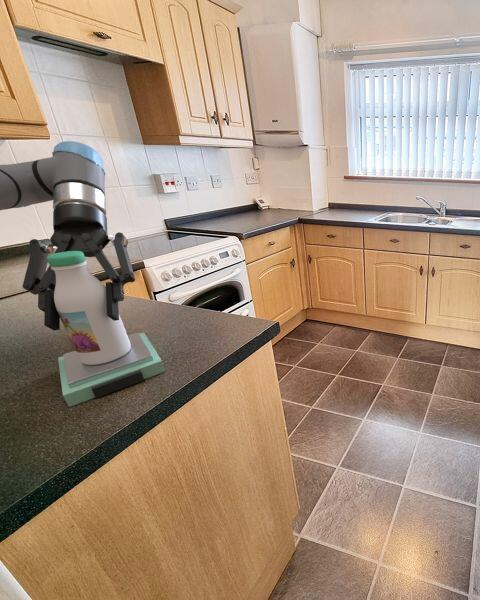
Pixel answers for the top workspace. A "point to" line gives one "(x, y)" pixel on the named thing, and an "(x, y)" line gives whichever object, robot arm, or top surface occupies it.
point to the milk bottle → (86, 310)
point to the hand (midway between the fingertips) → (83, 322)
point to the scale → (110, 379)
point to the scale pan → (86, 373)
